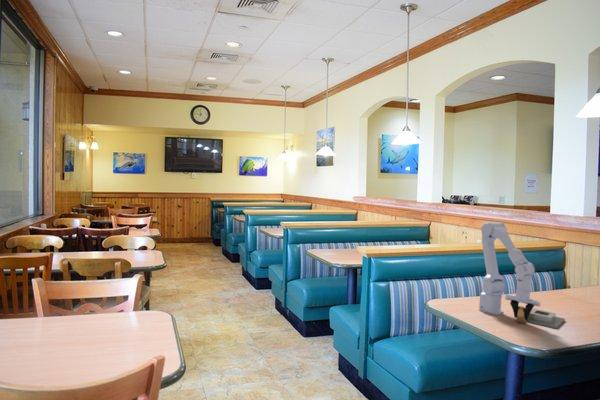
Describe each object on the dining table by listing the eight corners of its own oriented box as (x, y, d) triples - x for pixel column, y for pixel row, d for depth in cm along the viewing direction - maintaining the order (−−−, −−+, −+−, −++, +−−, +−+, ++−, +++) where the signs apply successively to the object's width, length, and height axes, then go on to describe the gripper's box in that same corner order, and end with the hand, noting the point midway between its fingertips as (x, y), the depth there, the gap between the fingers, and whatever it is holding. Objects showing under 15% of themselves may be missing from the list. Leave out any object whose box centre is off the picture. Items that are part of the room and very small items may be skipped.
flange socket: (518, 319, 213) (518, 312, 212) (528, 312, 225) (528, 305, 224) (556, 328, 202) (557, 321, 202) (564, 320, 214) (565, 313, 214)
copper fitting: (514, 322, 209) (515, 307, 208) (517, 320, 212) (518, 305, 211) (524, 324, 206) (525, 309, 206) (526, 322, 209) (527, 307, 209)
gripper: (503, 287, 210) (501, 316, 211) (538, 294, 200) (536, 324, 201) (508, 284, 215) (506, 313, 216) (542, 291, 205) (540, 320, 206)
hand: (521, 318), depth 209 cm, fingers closed on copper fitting, 4 cm apart
